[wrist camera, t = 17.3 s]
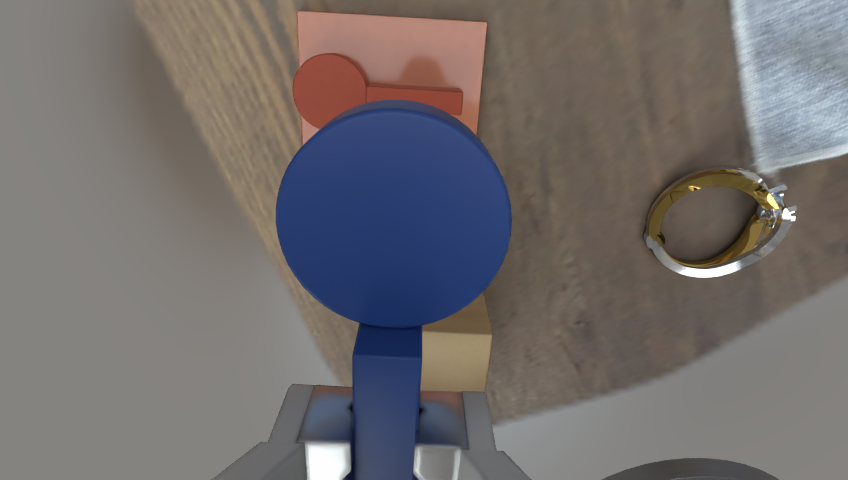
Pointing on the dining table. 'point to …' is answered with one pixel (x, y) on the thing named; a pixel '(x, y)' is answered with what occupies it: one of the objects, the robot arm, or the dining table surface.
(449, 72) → the terracotta tile
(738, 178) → the ring
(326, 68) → the terracotta spoon
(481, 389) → the spoon stand
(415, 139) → the blue spoon
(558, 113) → the dining table surface
